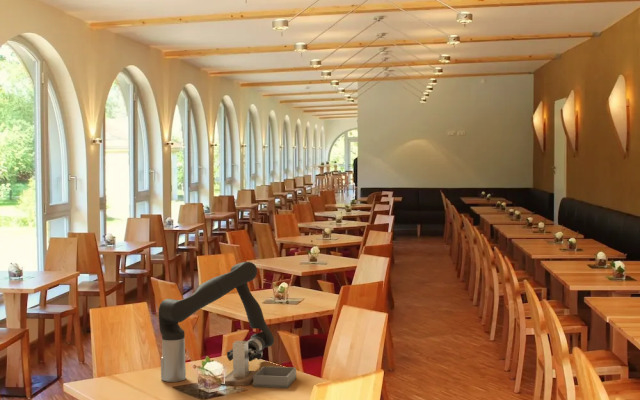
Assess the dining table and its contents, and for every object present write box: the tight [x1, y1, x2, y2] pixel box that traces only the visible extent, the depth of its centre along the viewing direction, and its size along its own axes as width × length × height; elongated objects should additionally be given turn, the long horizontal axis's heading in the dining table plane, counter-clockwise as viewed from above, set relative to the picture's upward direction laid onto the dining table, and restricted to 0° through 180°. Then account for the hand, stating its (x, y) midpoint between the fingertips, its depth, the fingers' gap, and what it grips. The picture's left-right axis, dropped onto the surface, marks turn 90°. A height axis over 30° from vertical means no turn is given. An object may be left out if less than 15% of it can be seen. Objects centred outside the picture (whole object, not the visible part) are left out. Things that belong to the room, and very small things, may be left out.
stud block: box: [224, 370, 259, 387], centre depth 316 cm, size 12×16×6 cm
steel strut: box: [232, 340, 250, 378], centre depth 315 cm, size 5×5×14 cm
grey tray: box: [252, 365, 297, 389], centre depth 310 cm, size 14×14×4 cm
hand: (239, 358), depth 314 cm, fingers open, 8 cm apart
